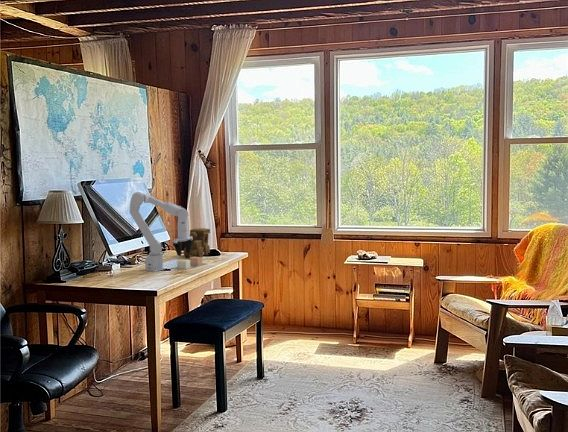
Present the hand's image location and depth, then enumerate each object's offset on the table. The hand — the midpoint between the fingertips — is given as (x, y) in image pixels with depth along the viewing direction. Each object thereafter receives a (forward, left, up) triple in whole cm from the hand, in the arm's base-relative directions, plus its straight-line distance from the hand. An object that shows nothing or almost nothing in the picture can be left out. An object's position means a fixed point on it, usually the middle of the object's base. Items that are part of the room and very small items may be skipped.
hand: (183, 254), depth 319 cm
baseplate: (+5, 0, -8) cm, 10 cm away
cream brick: (0, 0, -7) cm, 7 cm away
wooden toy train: (+38, +19, -8) cm, 43 cm away
